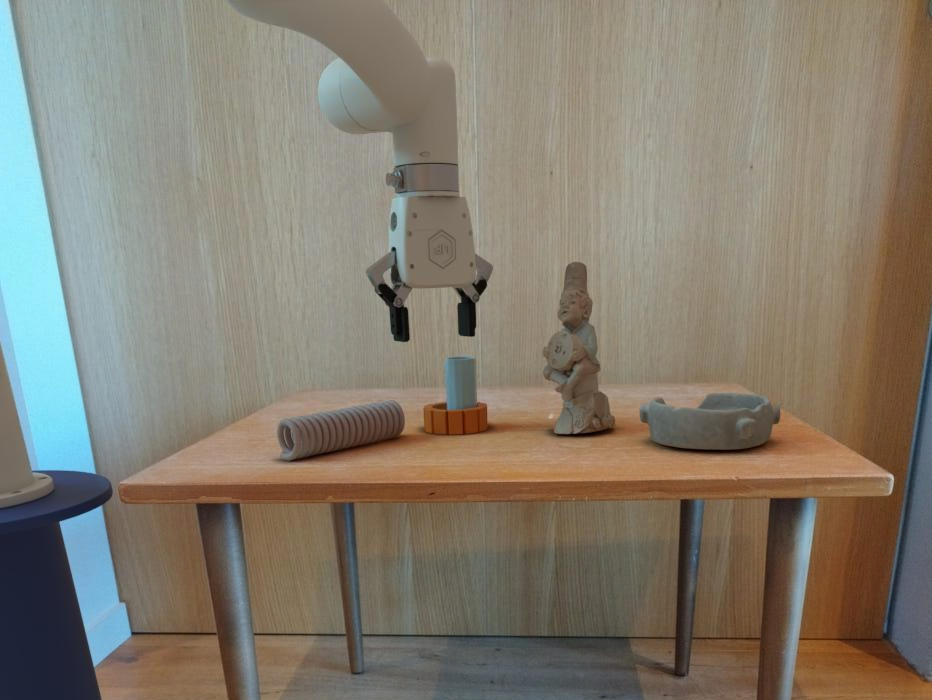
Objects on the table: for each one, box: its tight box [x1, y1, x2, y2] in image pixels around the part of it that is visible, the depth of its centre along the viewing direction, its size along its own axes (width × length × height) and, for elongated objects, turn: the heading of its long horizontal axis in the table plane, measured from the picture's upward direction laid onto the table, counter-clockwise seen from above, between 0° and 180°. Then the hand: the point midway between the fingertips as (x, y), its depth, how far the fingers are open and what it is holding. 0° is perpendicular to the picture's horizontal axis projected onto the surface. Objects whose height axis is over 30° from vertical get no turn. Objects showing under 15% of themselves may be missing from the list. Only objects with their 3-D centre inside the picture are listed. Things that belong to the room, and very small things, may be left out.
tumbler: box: [444, 355, 478, 410], centre depth 112 cm, size 4×4×9 cm
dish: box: [639, 392, 781, 451], centre depth 99 cm, size 14×14×5 cm
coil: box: [276, 399, 406, 461], centre depth 102 cm, size 5×5×18 cm
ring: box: [423, 401, 489, 436], centre depth 113 cm, size 8×8×3 cm
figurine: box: [541, 261, 617, 435], centre depth 105 cm, size 9×8×20 cm
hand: (434, 338), depth 107 cm, fingers open, 9 cm apart
